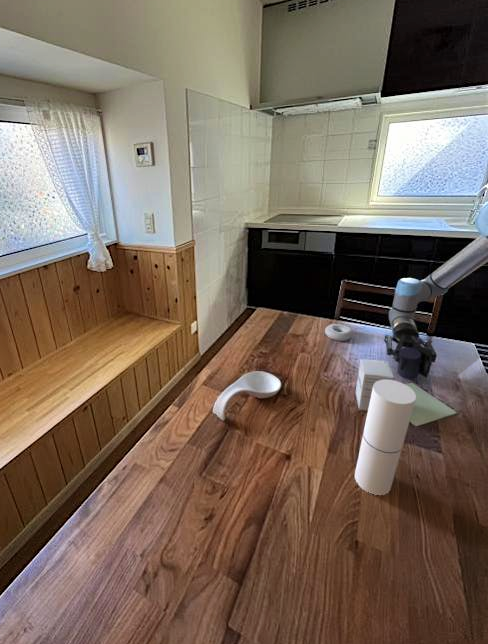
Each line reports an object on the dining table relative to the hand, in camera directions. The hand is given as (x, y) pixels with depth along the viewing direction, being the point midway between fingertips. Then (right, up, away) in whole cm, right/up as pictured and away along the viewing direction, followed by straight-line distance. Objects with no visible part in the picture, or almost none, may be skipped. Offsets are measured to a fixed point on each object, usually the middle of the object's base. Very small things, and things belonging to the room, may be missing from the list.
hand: (415, 368), depth 99 cm
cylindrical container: (-26, -21, -24) cm, 41 cm away
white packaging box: (-15, -10, -3) cm, 18 cm away
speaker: (+3, -4, +7) cm, 8 cm away
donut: (-8, +6, +32) cm, 34 cm away
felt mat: (-3, -9, -3) cm, 10 cm away
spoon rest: (-49, -10, +2) cm, 50 cm away
